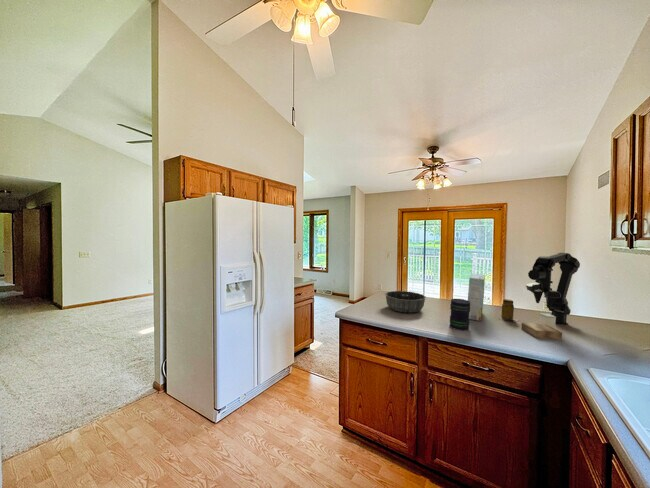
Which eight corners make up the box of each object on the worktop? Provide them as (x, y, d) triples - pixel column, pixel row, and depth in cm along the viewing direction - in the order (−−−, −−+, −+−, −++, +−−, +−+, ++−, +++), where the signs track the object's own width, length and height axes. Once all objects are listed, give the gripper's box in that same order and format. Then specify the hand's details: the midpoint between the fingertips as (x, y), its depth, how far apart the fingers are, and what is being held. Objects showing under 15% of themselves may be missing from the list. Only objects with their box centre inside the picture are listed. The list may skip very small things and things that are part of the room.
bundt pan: (379, 304, 190) (380, 290, 190) (414, 303, 193) (414, 290, 193) (392, 316, 164) (393, 300, 163) (432, 315, 167) (433, 299, 166)
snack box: (482, 322, 156) (484, 279, 155) (465, 319, 161) (468, 277, 159) (483, 312, 175) (485, 274, 173) (468, 310, 179) (470, 273, 178)
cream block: (548, 325, 152) (549, 313, 152) (555, 329, 147) (556, 316, 147) (538, 325, 153) (539, 313, 152) (545, 328, 148) (546, 316, 147)
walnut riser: (544, 331, 144) (545, 323, 144) (561, 340, 133) (562, 332, 132) (521, 329, 146) (521, 322, 146) (535, 338, 134) (536, 330, 134)
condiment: (502, 316, 167) (503, 298, 166) (518, 320, 161) (519, 301, 160) (498, 318, 163) (499, 299, 162) (514, 322, 156) (516, 303, 155)
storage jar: (446, 327, 147) (448, 300, 146) (452, 322, 154) (453, 297, 153) (466, 332, 140) (467, 304, 139) (471, 327, 147) (472, 301, 146)
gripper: (519, 275, 160) (518, 300, 161) (539, 281, 142) (537, 309, 143) (539, 275, 159) (538, 301, 160) (562, 282, 140) (560, 310, 141)
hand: (542, 305), depth 151 cm, fingers open, 9 cm apart
